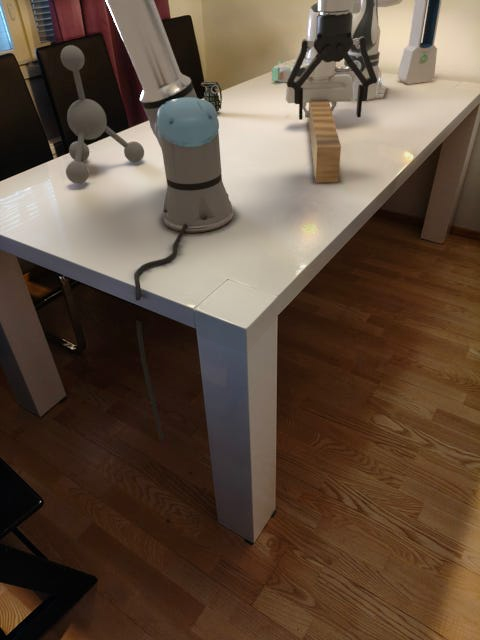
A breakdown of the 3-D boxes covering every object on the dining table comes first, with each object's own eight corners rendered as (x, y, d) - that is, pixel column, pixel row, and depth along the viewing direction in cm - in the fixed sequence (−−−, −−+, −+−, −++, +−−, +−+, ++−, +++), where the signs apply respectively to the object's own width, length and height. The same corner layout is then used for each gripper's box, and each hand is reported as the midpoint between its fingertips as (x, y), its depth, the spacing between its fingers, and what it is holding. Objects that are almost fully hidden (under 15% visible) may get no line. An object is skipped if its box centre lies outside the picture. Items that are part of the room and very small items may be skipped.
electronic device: (405, 84, 191) (419, -7, 173) (396, 80, 197) (408, -9, 178) (434, 81, 193) (450, -10, 175) (423, 77, 199) (438, -11, 181)
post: (338, 182, 119) (341, 146, 114) (315, 182, 120) (317, 147, 114) (325, 121, 158) (326, 93, 153) (308, 122, 159) (309, 93, 154)
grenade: (202, 115, 171) (199, 84, 165) (206, 110, 175) (204, 80, 169) (220, 115, 169) (217, 84, 163) (224, 111, 174) (222, 80, 167)
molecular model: (155, 174, 129) (135, 45, 110) (70, 190, 123) (34, 57, 104) (137, 148, 146) (116, 33, 128) (61, 161, 140) (29, 42, 122)
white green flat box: (294, 54, 218) (335, 57, 208) (294, 70, 222) (334, 73, 212) (263, 65, 202) (305, 69, 192) (263, 82, 206) (304, 86, 196)
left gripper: (392, 6, 105) (380, 110, 118) (276, 13, 107) (277, 114, 120) (398, 11, 99) (385, 119, 112) (275, 18, 101) (276, 123, 114)
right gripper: (355, 64, 145) (350, 113, 153) (286, 67, 147) (285, 115, 155) (357, 68, 140) (353, 119, 148) (286, 71, 142) (285, 120, 150)
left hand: (329, 117), depth 116 cm, fingers open, 13 cm apart
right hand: (318, 117), depth 152 cm, fingers closed on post, 5 cm apart
